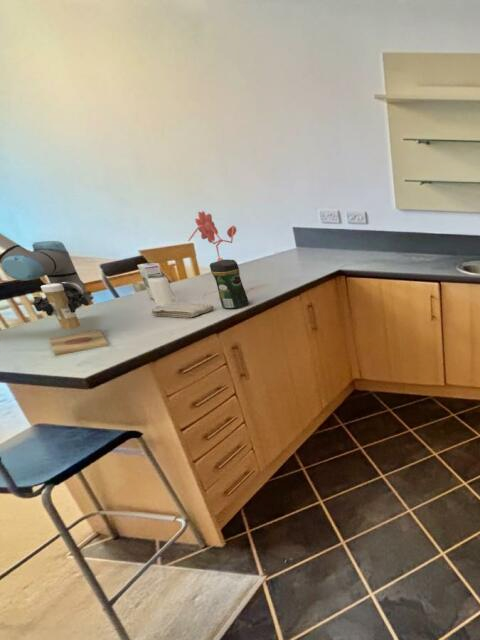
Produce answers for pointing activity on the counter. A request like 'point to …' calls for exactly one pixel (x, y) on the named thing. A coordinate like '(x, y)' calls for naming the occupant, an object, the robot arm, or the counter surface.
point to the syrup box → (149, 274)
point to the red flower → (211, 231)
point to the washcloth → (182, 309)
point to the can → (161, 290)
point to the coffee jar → (229, 284)
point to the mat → (77, 342)
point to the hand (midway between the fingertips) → (59, 309)
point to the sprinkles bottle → (60, 305)
